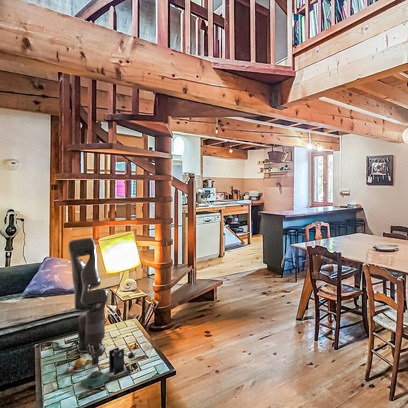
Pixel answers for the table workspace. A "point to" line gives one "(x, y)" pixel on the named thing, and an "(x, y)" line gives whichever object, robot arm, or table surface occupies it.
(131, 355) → the lever
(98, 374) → the button
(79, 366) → the burger
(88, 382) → the button box
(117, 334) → the table surface
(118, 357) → the bracket
